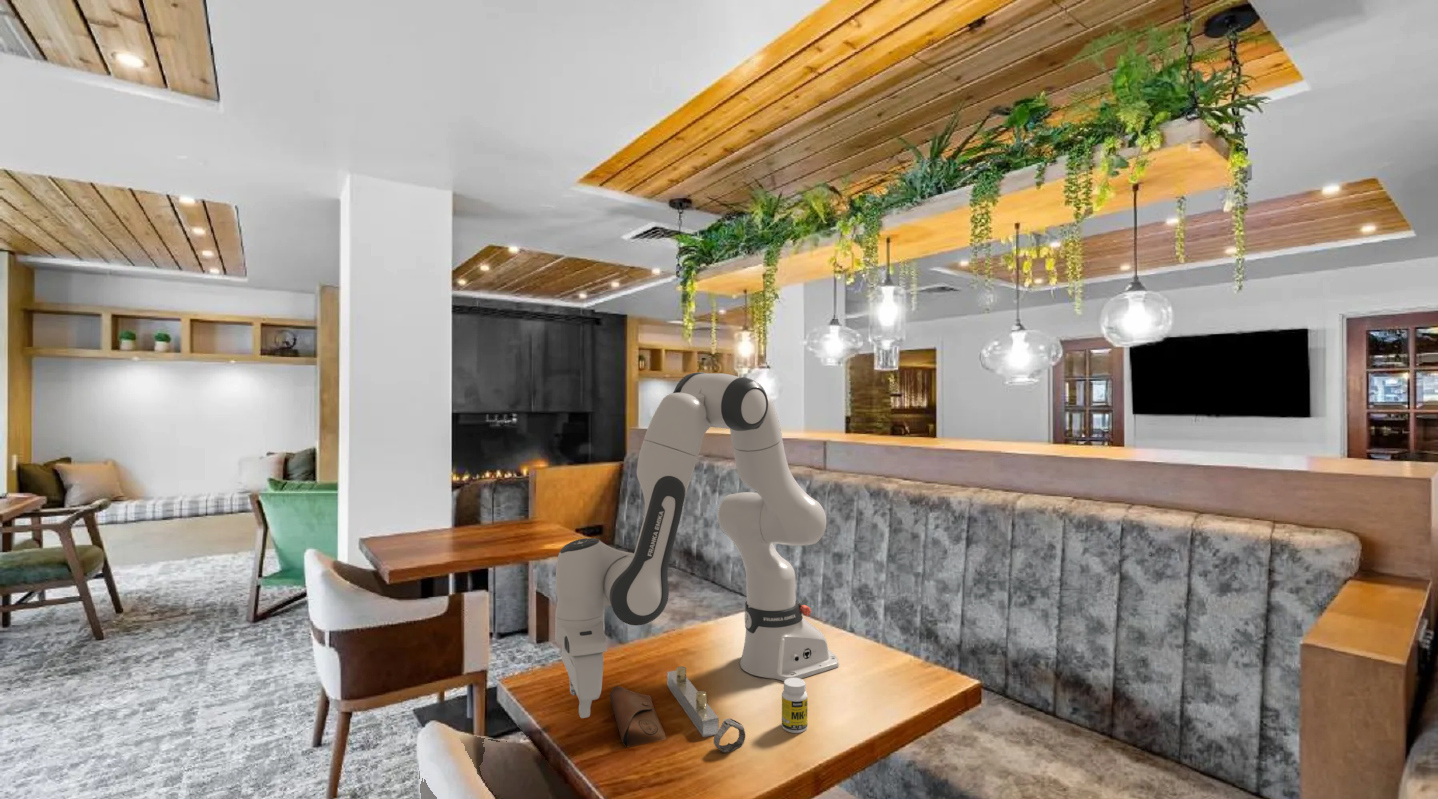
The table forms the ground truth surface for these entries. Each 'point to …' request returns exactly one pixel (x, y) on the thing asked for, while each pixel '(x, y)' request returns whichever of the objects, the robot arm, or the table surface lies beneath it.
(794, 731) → the supplement bottle
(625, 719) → the sunglasses case
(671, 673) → the white board with knobs
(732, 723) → the wristwatch
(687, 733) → the table surface
